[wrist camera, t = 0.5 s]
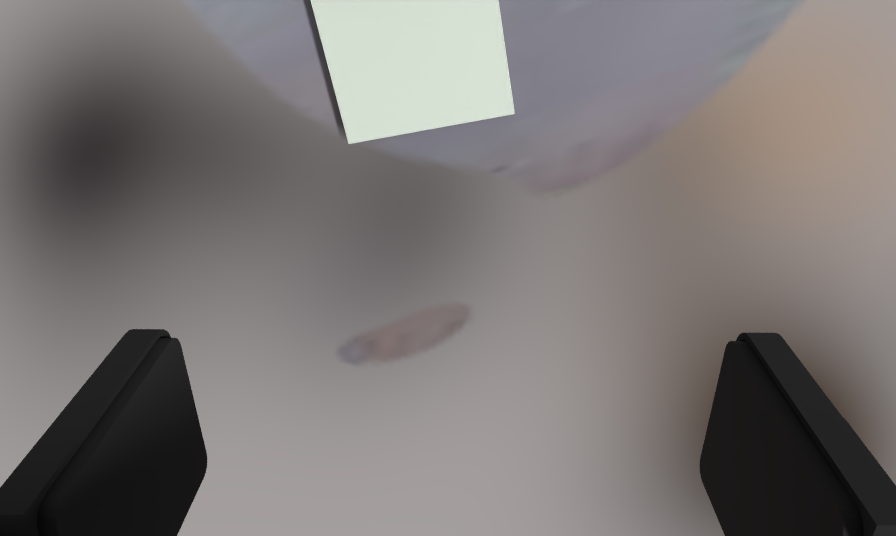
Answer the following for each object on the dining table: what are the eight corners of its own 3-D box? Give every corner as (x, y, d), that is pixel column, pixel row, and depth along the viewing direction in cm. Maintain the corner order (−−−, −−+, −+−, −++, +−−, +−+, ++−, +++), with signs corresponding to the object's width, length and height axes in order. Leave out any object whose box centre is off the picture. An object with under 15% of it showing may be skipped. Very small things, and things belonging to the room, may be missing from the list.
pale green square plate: (302, -38, 39) (300, -37, 39) (487, -77, 38) (487, -77, 37) (349, 141, 44) (348, 143, 44) (514, 111, 43) (514, 113, 42)
